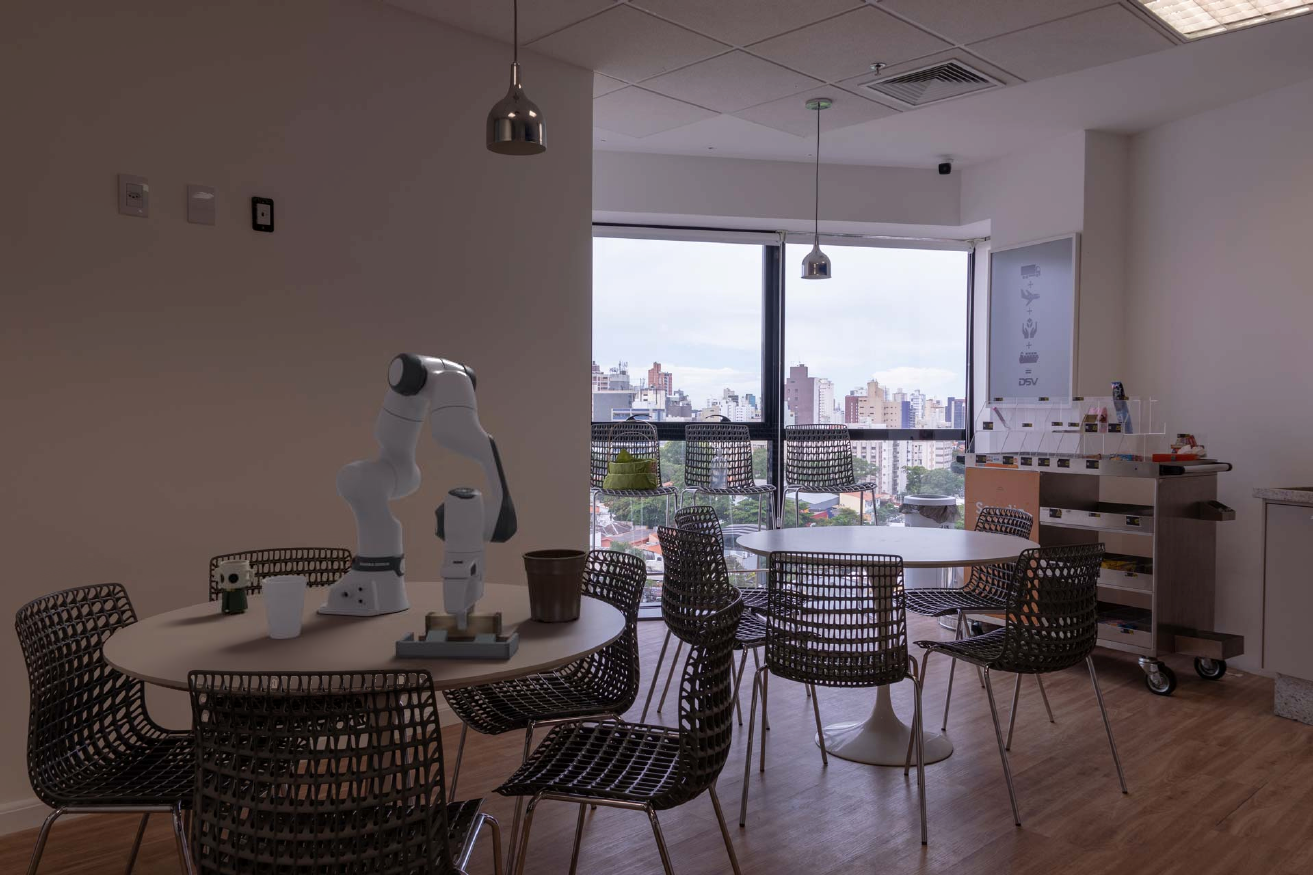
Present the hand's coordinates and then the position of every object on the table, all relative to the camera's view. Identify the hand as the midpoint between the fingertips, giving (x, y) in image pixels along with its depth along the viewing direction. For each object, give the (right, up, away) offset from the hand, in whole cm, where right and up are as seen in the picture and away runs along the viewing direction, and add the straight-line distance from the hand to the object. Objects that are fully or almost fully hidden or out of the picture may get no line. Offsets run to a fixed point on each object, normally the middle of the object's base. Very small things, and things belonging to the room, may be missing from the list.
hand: (465, 626), depth 202 cm
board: (0, -4, +4) cm, 6 cm away
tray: (-1, -5, -5) cm, 7 cm away
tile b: (+5, -3, -4) cm, 7 cm away
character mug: (-66, -4, +35) cm, 75 cm away
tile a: (-6, -3, -3) cm, 7 cm away
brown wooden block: (0, -2, 0) cm, 2 cm away
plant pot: (+16, -4, +28) cm, 33 cm away
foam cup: (-44, -5, +11) cm, 45 cm away
